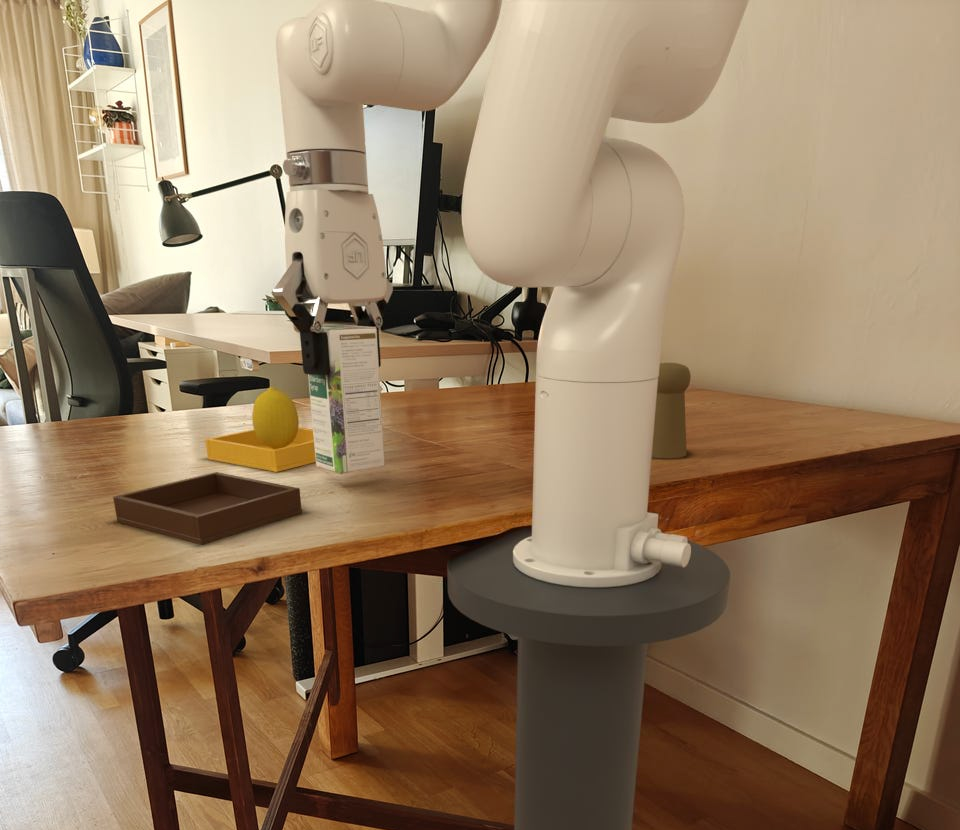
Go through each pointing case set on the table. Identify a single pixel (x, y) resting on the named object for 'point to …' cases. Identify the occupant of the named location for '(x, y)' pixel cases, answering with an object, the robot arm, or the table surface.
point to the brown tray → (207, 506)
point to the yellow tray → (262, 451)
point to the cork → (670, 411)
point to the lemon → (275, 418)
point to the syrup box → (348, 402)
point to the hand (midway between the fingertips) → (343, 369)
